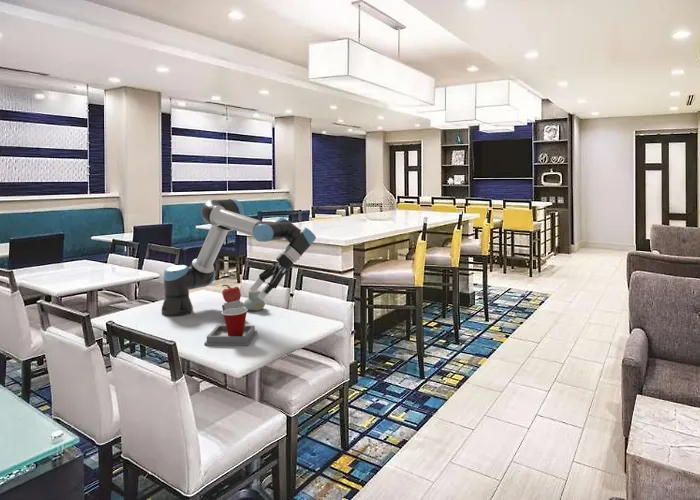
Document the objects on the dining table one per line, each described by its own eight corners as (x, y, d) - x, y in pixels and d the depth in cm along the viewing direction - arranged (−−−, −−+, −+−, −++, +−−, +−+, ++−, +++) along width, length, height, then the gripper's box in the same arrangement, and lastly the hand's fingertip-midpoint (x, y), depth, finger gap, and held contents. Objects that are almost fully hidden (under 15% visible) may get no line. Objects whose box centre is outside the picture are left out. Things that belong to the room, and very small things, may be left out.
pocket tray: (216, 332, 220) (216, 324, 220) (256, 332, 220) (256, 325, 220) (204, 345, 202) (204, 337, 202) (248, 346, 202) (248, 337, 202)
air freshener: (258, 306, 266) (258, 288, 265) (267, 309, 261) (267, 290, 259) (241, 310, 259) (240, 291, 257) (250, 313, 253) (250, 293, 252)
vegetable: (217, 304, 270) (217, 286, 269) (227, 299, 280) (226, 282, 279) (235, 305, 267) (235, 287, 266) (244, 301, 277) (244, 283, 276)
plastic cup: (223, 333, 214) (223, 306, 212) (249, 333, 215) (248, 306, 214) (219, 341, 203) (219, 313, 202) (246, 341, 204) (246, 313, 203)
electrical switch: (228, 323, 235) (226, 303, 234) (221, 322, 238) (220, 302, 237) (243, 319, 242) (242, 300, 241) (237, 318, 245) (235, 299, 245)
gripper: (303, 268, 208) (269, 307, 204) (285, 258, 230) (254, 293, 226) (291, 257, 205) (256, 296, 201) (273, 248, 227) (242, 283, 223)
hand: (255, 294), depth 214 cm, fingers open, 13 cm apart
